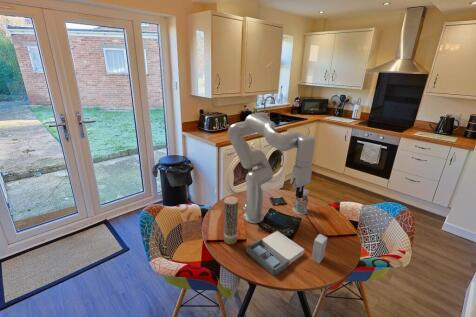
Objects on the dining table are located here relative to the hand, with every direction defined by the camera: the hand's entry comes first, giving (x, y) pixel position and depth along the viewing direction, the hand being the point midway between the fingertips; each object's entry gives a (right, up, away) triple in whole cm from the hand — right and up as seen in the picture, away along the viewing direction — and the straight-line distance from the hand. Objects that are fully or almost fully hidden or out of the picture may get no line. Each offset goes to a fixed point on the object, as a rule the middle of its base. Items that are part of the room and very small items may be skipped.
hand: (298, 196), depth 120 cm
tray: (-16, -30, -2) cm, 34 cm away
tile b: (-20, -26, -1) cm, 33 cm away
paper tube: (-34, -25, +10) cm, 43 cm away
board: (-8, -27, +5) cm, 29 cm away
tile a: (-14, -29, -7) cm, 33 cm away
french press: (+10, -15, +38) cm, 42 cm away
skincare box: (+9, -30, -1) cm, 31 cm away
